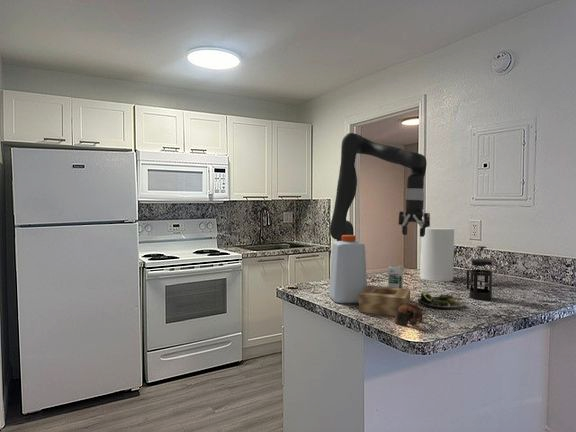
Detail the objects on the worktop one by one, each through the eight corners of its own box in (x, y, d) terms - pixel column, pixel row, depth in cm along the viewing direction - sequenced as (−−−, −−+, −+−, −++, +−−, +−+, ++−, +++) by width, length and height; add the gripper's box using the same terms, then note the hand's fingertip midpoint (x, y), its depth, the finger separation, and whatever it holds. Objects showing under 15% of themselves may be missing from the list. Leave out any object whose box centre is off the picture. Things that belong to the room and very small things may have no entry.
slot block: (358, 311, 155) (358, 294, 155) (368, 301, 171) (368, 285, 171) (404, 317, 149) (404, 298, 148) (409, 306, 164) (410, 289, 164)
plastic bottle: (370, 303, 169) (371, 236, 168) (336, 304, 166) (336, 237, 165) (358, 294, 184) (359, 233, 183) (326, 296, 181) (327, 234, 180)
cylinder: (458, 281, 215) (459, 229, 214) (426, 281, 215) (427, 229, 214) (446, 275, 232) (447, 227, 231) (416, 275, 232) (417, 227, 231)
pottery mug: (387, 321, 145) (395, 300, 147) (410, 332, 146) (417, 311, 148) (404, 323, 133) (411, 300, 136) (428, 335, 134) (435, 311, 136)
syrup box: (387, 300, 173) (388, 267, 173) (389, 297, 179) (389, 265, 178) (401, 301, 171) (401, 268, 171) (402, 298, 177) (403, 266, 176)
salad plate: (450, 298, 179) (450, 288, 179) (477, 308, 162) (477, 297, 162) (410, 300, 175) (411, 290, 175) (434, 311, 158) (434, 299, 158)
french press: (498, 299, 177) (499, 247, 176) (486, 301, 172) (487, 248, 171) (473, 293, 187) (474, 244, 186) (461, 296, 181) (462, 245, 180)
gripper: (396, 198, 180) (394, 234, 180) (424, 199, 169) (422, 237, 169) (405, 198, 184) (404, 233, 185) (434, 199, 173) (432, 236, 174)
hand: (413, 235), depth 177 cm, fingers open, 8 cm apart
